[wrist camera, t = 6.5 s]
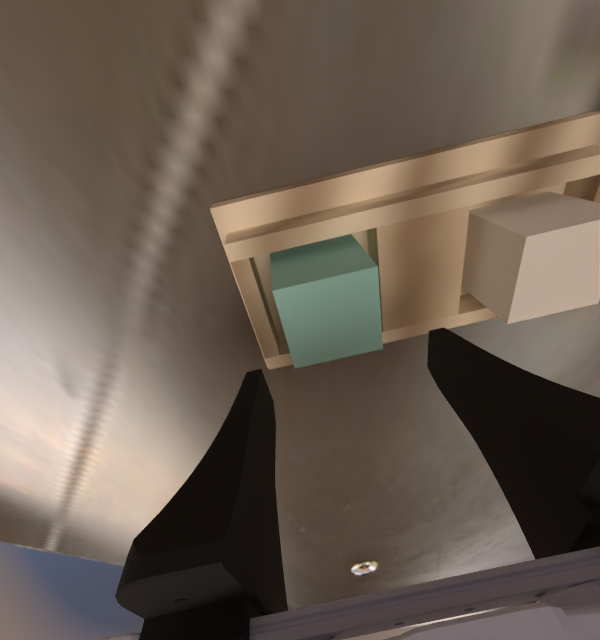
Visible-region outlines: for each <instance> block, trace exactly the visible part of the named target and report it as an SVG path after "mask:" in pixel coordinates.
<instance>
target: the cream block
mask: <svg viewBox="0 0 600 640" xmlns="http://www.w3.org/2000/svg"><path fill="white" fill-rule="evenodd" d="M461 287H462V288H463V289H465V290H466V291H467V292H468V293H470V294H471V295H472V296H473V297H474V298H476V299H477V300H478V301H479V302H481V303H482V304H483V305H484V306H486V307H487V308H488V309H489V310H490V311H492V312H493V313H494V314H495V315H497V316H498V317H499V318H500V319H502V320H503V321H504V322H505V323H506V324H510V323H515V322H519V321H524V320H528V319H532V318H537V317H541V316H545V315H550V314H554V313H559V312H563V311H567V310H572V309H576V308H581V307H585V306H589V305H594V304H598V302H599V300H600V203H597V202H593V201H588V200H584V199H580V198H575V197H571V196H567V195H562V194H558V193H554V192H549V191H547V192H543V193H539V194H535V195H531V196H526V197H522V198H518V199H514V200H510V201H505V202H501V203H497V204H493V205H489V206H484V207H480V208H476V209H472V210H469V219H468V228H467V237H466V247H465V256H464V265H463V275H462V284H461Z"/></svg>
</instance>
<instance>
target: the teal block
mask: <svg viewBox="0 0 600 640" xmlns="http://www.w3.org/2000/svg"><path fill="white" fill-rule="evenodd" d="M270 261H271V278H272V292H273V295H274V299H275V302H276V306H277V309H278V312H279V316H280V319H281V323H282V326H283V330H284V333H285V337H286V340H287V344H288V347H289V351H290V354H291V357H292V361H293V364H294V368H295V369H296V368H300V367H304V366H309V365H313V364H318V363H322V362H327V361H331V360H335V359H340V358H344V357H349V356H353V355H358V354H362V353H366V352H371V351H375V350H380V349H383V341H382V325H381V309H380V293H379V277H378V266H377V265H376V264H375V262H374V261H373V260H372V259H371V257H370V256H369V255H368V254H367V253H366V251H365V250H364V249H363V248H362V246H361V245H360V244H359V243H358V242H357V240H356V239H355V238H354V237H353V235H352V234H348V235H344V236H339V237H335V238H331V239H327V240H322V241H318V242H314V243H310V244H306V245H301V246H297V247H293V248H289V249H285V250H280V251H276V252H272V253H270Z"/></svg>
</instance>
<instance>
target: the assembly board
mask: <svg viewBox="0 0 600 640" xmlns="http://www.w3.org/2000/svg"><path fill="white" fill-rule="evenodd" d="M547 191H549V192H554V193H558V194H562V195H567V196H571V197H575V198H580V199H584V200H588V201H593V202H597V203H600V111H596V112H588V113H584V114H580V115H576V116H572V117H568V118H563V119H559V120H555V121H551V122H547V123H543V124H539V125H535V126H531V127H526V128H522V129H518V130H514V131H510V132H506V133H502V134H498V135H494V136H489V137H485V138H481V139H477V140H473V141H469V142H465V143H461V144H457V145H453V146H448V147H444V148H440V149H436V150H432V151H428V152H424V153H420V154H416V155H411V156H407V157H403V158H399V159H395V160H391V161H387V162H383V163H379V164H375V165H370V166H366V167H362V168H358V169H354V170H350V171H346V172H342V173H338V174H333V175H329V176H325V177H321V178H317V179H313V180H309V181H305V182H301V183H297V184H292V185H288V186H284V187H280V188H276V189H272V190H268V191H264V192H260V193H255V194H251V195H247V196H243V197H239V198H235V199H231V200H227V201H223V202H219V203H214V204H212V206H211V208H210V211H211V213H212V216H213V219H214V222H215V224H216V227H217V230H218V233H219V236H220V238H221V241H222V244H223V247H224V249H225V252H226V255H227V258H228V260H229V263H230V266H231V269H232V271H233V274H234V277H235V280H236V283H237V285H238V288H239V291H240V294H241V296H242V299H243V302H244V305H245V307H246V310H247V313H248V316H249V318H250V321H251V324H252V327H253V330H254V332H255V335H256V338H257V341H258V343H259V346H260V349H261V352H262V354H263V357H264V360H265V363H266V365H267V368H269V370H270V369H275V368H279V367H283V366H288V365H292V364H293V361H292V357H291V354H290V351H289V347H288V344H287V340H286V337H285V333H284V330H283V326H282V323H281V319H280V316H279V312H278V309H277V306H276V302H275V299H274V295H273V292H272V278H271V261H270V253H272V252H276V251H280V250H285V249H289V248H293V247H297V246H301V245H306V244H310V243H314V242H318V241H322V240H327V239H331V238H335V237H339V236H344V235H348V234H352V235H353V237H354V238H355V239H356V240H357V242H358V243H359V244H360V245H361V246H362V248H363V249H364V250H365V251H366V253H367V254H368V255H369V256H370V257H371V259H372V260H373V261H374V262H375V264H376V265H377V266H378V277H379V293H380V309H381V325H382V341H383V344H384V343H388V342H393V341H397V340H401V339H406V338H410V337H415V336H419V335H423V334H428V333H429V331H430V330H434V329H439V328H443V327H444V328H446V329H450V328H454V327H458V326H463V325H467V324H471V323H476V322H480V321H485V320H489V319H493V318H498V316H497V315H495V314H494V313H493V312H492V311H490V310H489V309H488V308H487V307H486V306H484V305H483V304H482V303H481V302H479V301H478V300H477V299H476V298H474V297H473V296H472V295H471V294H470V293H468V292H467V291H466V290H465V289H463V288H462V287H461V284H462V275H463V265H464V256H465V247H466V237H467V228H468V219H469V210H472V209H476V208H480V207H484V206H489V205H493V204H497V203H501V202H505V201H510V200H514V199H518V198H522V197H526V196H531V195H535V194H539V193H543V192H547Z"/></svg>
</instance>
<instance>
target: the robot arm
mask: <svg viewBox="0 0 600 640" xmlns="http://www.w3.org/2000/svg"><path fill="white" fill-rule="evenodd" d="M427 367H428V369H429V371H430V373H431V375H432V377H433V379H434V380H435V382H436V384H437V386H438V388H439V389H440V391H441V392H442V394H443V395H444V397H445V398H446V399H447V401H448V402H449V404H450V405H451V407H452V408H453V409H454V411H455V412H456V414H457V415H458V417H459V418H460V419H461V421H462V422H463V424H464V425H465V427H466V428H467V429H468V431H469V432H470V434H471V435H472V437H473V438H474V440H475V442H476V443H477V445H478V447H479V449H480V450H481V452H482V454H483V456H484V457H485V459H486V461H487V463H488V465H489V466H490V468H491V470H492V472H493V474H494V476H495V478H496V479H497V481H498V483H499V485H500V487H501V489H502V491H503V493H504V495H505V497H506V499H507V501H508V503H509V505H510V507H511V509H512V511H513V513H514V515H515V517H516V519H517V521H518V523H519V525H520V527H521V529H522V531H523V533H524V535H525V538H526V540H527V542H528V544H529V546H530V548H531V550H532V553H533V555H534V557H535V559H536V560H531V561H526V562H521V563H517V564H512V565H507V566H502V567H497V568H492V569H488V570H483V571H478V572H473V573H468V574H463V575H459V576H454V577H449V578H444V579H439V580H434V581H429V582H425V583H420V584H415V585H410V586H405V587H400V588H396V589H391V590H386V591H381V592H376V593H371V594H366V595H362V596H357V597H352V598H347V599H342V600H337V601H333V602H328V603H323V604H318V605H313V606H308V607H304V608H299V609H294V610H289V611H288V607H287V599H286V591H285V582H284V574H283V565H282V555H281V546H280V536H279V525H278V514H277V502H276V489H275V443H276V421H275V411H274V402H273V399H272V396H271V394H270V391H269V388H268V386H267V383H266V380H265V378H264V375H263V372H262V370H261V369H259V370H254V371H250V372H247V373H246V375H245V377H244V380H243V382H242V385H241V387H240V390H239V392H238V394H237V397H236V399H235V401H234V403H233V405H232V407H231V409H230V412H229V414H228V416H227V418H226V420H225V421H224V423H223V425H222V427H221V429H220V431H219V433H218V434H217V436H216V438H215V439H214V441H213V443H212V444H211V446H210V448H209V449H208V451H207V452H206V454H205V455H204V457H203V458H202V460H201V461H200V463H199V464H198V465H197V467H196V468H195V470H194V471H193V472H192V474H191V475H190V476H189V478H188V479H187V480H186V482H185V483H184V484H183V485H182V487H181V488H180V489H179V490H178V492H177V493H176V494H175V495H174V496H173V498H172V499H171V500H170V501H169V502H168V504H167V505H166V506H165V507H164V508H163V509H162V510H161V512H160V513H159V514H158V515H157V516H156V517H155V518H154V519H153V520H152V521H151V522H150V523H149V524H148V525H147V526H146V527H145V528H144V529H143V531H142V532H141V533H140V534H139V535H138V536H137V537H136V538H135V539H134V540H133V543H132V546H131V548H130V551H129V553H128V556H127V559H126V563H125V566H124V569H123V572H122V575H121V579H120V582H119V585H118V588H117V592H116V595H115V596H116V599H117V602H118V603H119V604H120V605H121V606H122V607H124V608H126V609H127V610H129V611H131V612H133V613H135V614H137V615H138V616H140V617H142V618H144V623H143V627H142V632H141V633H126V634H121V635H116V636H111V637H106V638H101V639H97V640H341V639H346V638H351V637H356V636H361V635H365V634H371V633H376V632H381V631H386V630H390V629H395V628H400V627H405V626H410V625H415V624H420V623H425V622H430V621H435V620H440V619H445V618H450V617H455V616H459V615H464V614H469V613H474V612H479V611H484V610H489V609H494V608H499V607H504V606H509V605H514V604H519V603H523V602H528V601H533V600H538V599H541V600H540V603H534V604H526V605H521V606H516V607H511V608H506V609H501V610H496V611H492V612H487V613H482V614H477V615H472V616H467V617H462V618H457V619H452V620H447V621H442V622H437V623H433V624H429V625H425V626H421V627H418V628H414V629H412V630H410V631H408V632H405V633H403V634H401V635H399V636H395V637H392V638H388V639H385V640H600V398H599V397H595V396H592V395H589V394H586V393H583V392H580V391H577V390H574V389H571V388H568V387H565V386H563V385H560V384H557V383H555V382H552V381H549V380H547V379H545V378H542V377H540V376H537V375H535V374H532V373H530V372H528V371H525V370H523V369H521V368H519V367H517V366H515V365H512V364H510V363H508V362H506V361H504V360H502V359H500V358H498V357H496V356H494V355H492V354H490V353H489V352H487V351H485V350H483V349H481V348H479V347H478V346H476V345H474V344H472V343H470V342H469V341H467V340H465V339H463V338H462V337H460V336H458V335H456V334H455V333H453V332H451V331H449V330H447V329H446V328H444V327H443V328H439V329H434V330H430V331H429V341H428V365H427Z"/></svg>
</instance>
